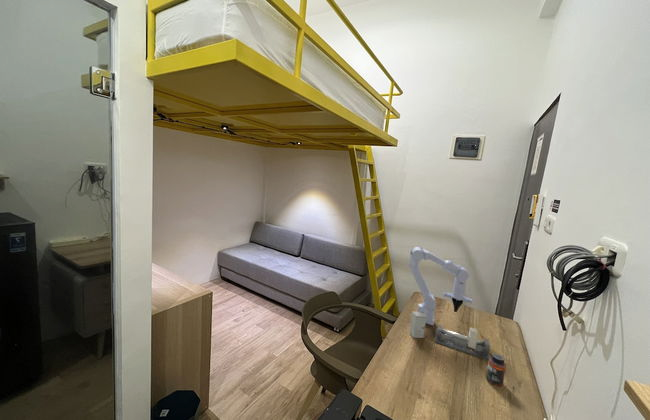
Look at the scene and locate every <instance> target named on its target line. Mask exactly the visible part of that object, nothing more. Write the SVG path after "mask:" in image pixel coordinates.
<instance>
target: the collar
mask: <svg viewBox="0 0 650 420" xmlns="http://www.w3.org/2000/svg"><path fill="white" fill-rule="evenodd" d="M478 334H479V332H478V329H477V328H474V327H469V331H468V335H467V336H468V337H469V342H468V341H467V343H468V347H470V348H473V349H475V348H476V342H477V339H478Z"/></svg>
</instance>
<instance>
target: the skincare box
mask: <svg viewBox="0 0 650 420" xmlns="http://www.w3.org/2000/svg"><path fill="white" fill-rule="evenodd" d="M411 313H412V314H411V320H410V327H409V334H410V335H411V337H412V338H417V339H418V338H419V339H421V338H422V339H423V338H424V336H425V329H426V324H427V323H426V318H427V316H426V315H425V314H424V313H423V312H417V311H412V312H411Z"/></svg>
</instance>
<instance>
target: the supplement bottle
mask: <svg viewBox="0 0 650 420" xmlns="http://www.w3.org/2000/svg"><path fill="white" fill-rule="evenodd" d="M490 357H491V358H489V360H488V362H487V369H486V374H485V378H486V380H487V382H488V383H490V384H491V385H493V386H495V387H502V386H504V381H505V375H506V370H507V364H506V363H505V358H504V356H503V355H501V354H499V353H495V352H494V353H492V356H490Z"/></svg>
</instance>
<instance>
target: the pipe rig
mask: <svg viewBox="0 0 650 420" xmlns="http://www.w3.org/2000/svg"><path fill="white" fill-rule="evenodd" d="M434 330H435V332H434V334H435V335H434V343H436V344H439V345H442V346H445V347H448V348H451V349H453V350H456V351H460V352H463V353H466V354H468V355H471V356H473V357H474V356H475V357H477V358H481V359H484V360H486V361H489V358H491V357H492V356H491V355H490V348H491V344H490V340H489V339H486V338H483V339H478V338H477V342H476V348H475V349H473V348H470V347H468V343H467V341H468V342H469V337H468V335H464V334H461V333H457V332H455V331H452V330H449V329H445V328H443V326H442V325H441V324H437V327H436V328H435V329H434Z"/></svg>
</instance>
